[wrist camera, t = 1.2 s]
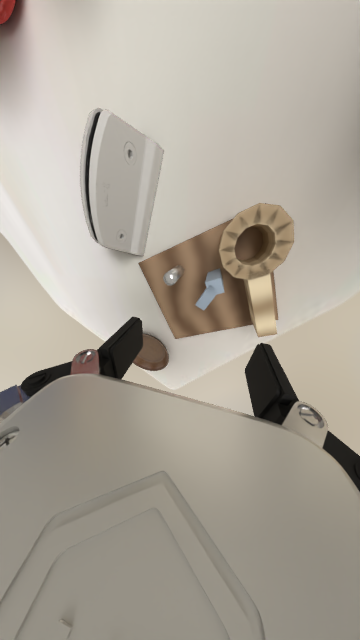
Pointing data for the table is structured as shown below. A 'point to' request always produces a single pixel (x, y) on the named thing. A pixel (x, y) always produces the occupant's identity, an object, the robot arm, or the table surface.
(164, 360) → the saucer
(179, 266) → the peg
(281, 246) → the link
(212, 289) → the bracket
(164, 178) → the table surface
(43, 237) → the table surface
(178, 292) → the board
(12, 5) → the plant pot
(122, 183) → the white rounded block
